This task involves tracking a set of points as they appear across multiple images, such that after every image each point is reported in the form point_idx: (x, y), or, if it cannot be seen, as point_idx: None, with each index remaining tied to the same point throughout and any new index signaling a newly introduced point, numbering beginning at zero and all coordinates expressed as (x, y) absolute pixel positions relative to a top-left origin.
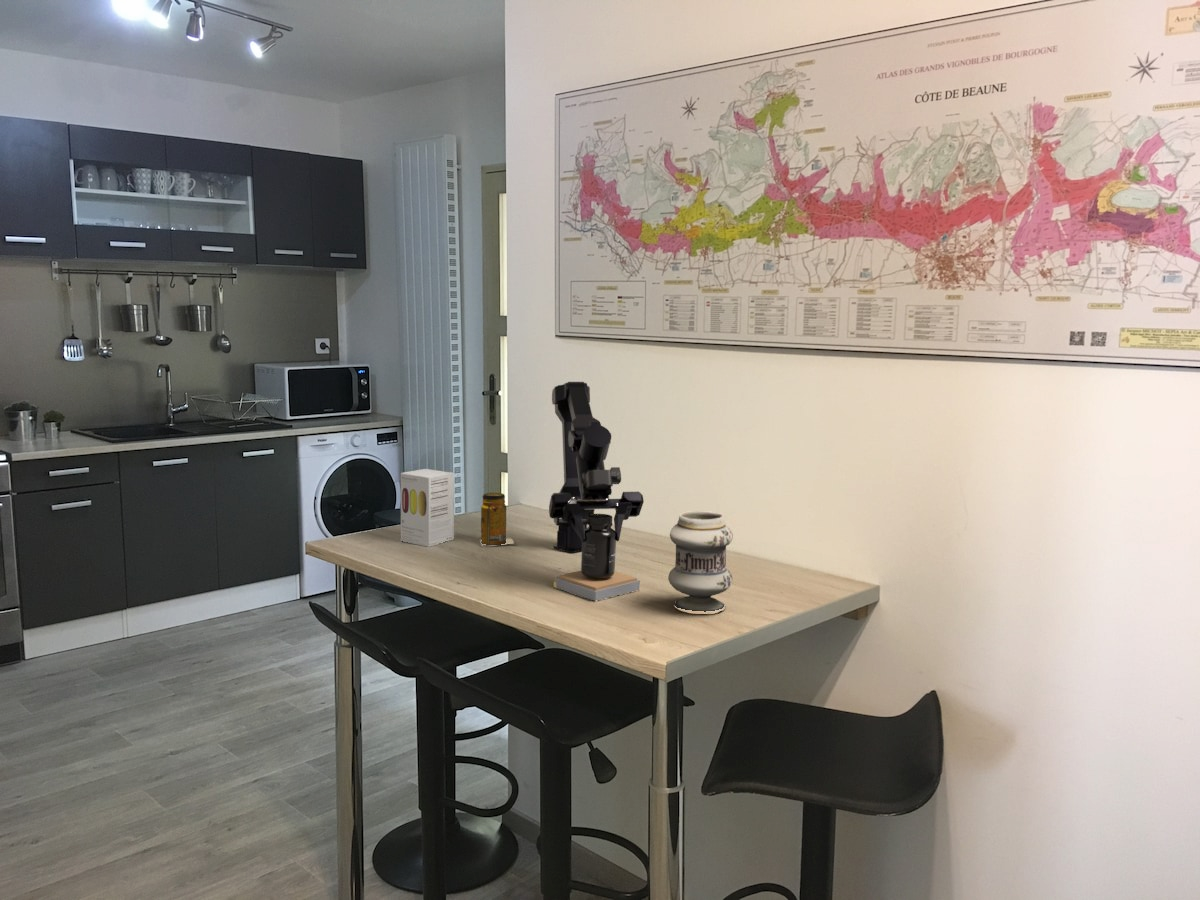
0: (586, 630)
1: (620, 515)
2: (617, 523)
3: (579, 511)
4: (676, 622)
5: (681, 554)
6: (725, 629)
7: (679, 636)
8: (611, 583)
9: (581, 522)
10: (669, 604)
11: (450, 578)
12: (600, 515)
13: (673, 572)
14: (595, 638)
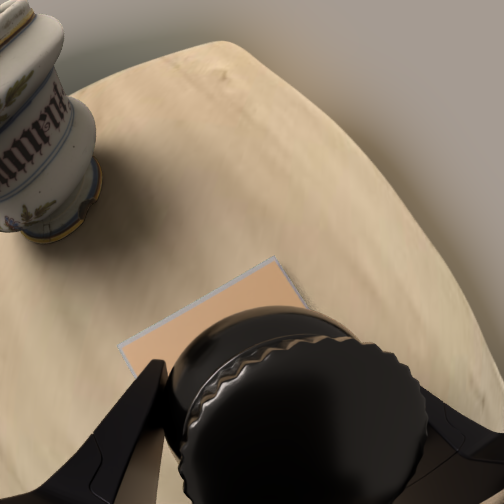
0: (305, 117)
1: (83, 490)
2: (133, 440)
3: (486, 455)
4: (140, 122)
5: (57, 80)
6: (91, 98)
7: (168, 80)
8: (217, 300)
9: (431, 416)
10: (97, 217)
11: (486, 424)
12: (319, 479)
13: (76, 136)
14: (294, 92)
